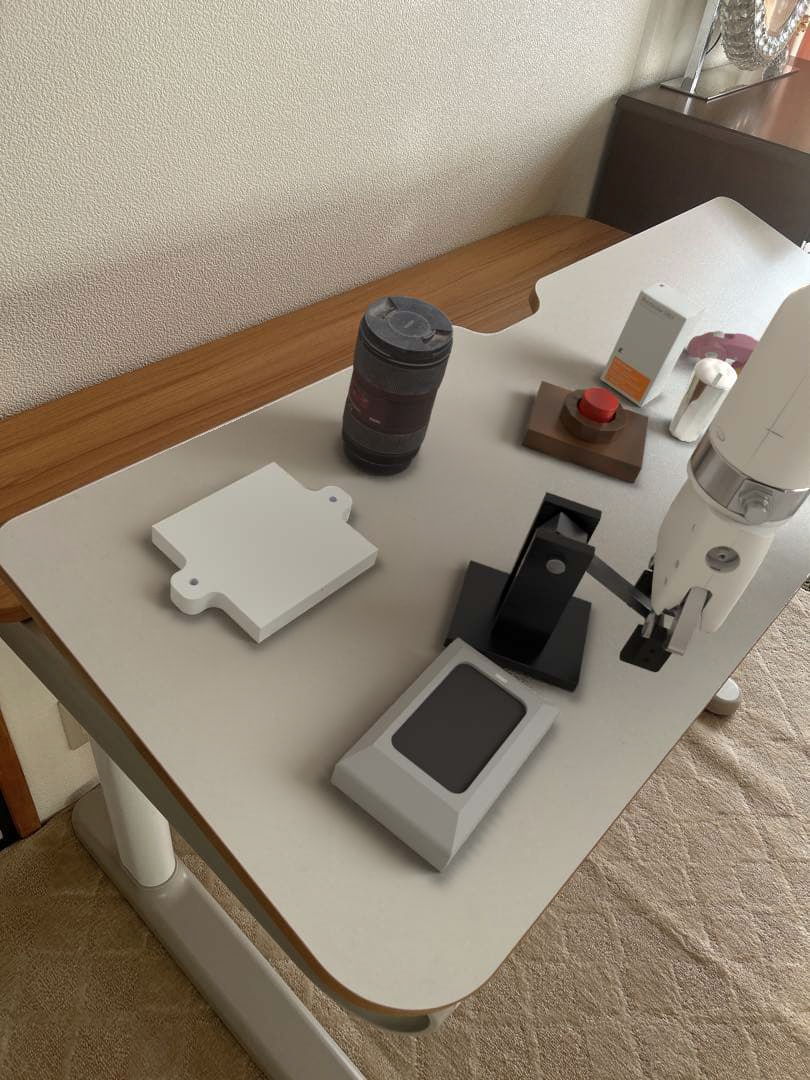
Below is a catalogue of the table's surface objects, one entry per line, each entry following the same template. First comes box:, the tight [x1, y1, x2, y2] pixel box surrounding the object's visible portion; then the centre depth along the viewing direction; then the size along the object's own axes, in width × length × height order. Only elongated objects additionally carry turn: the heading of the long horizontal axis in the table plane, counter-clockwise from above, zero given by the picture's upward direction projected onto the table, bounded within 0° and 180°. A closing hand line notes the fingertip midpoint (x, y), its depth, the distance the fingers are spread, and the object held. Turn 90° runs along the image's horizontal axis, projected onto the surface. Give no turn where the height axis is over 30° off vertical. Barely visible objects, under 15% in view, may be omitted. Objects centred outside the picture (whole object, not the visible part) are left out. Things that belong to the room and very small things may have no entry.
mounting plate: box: [151, 461, 379, 644], centre depth 73 cm, size 18×13×2 cm
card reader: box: [329, 638, 560, 874], centre depth 63 cm, size 10×4×15 cm
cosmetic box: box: [599, 280, 705, 408], centre depth 97 cm, size 6×4×12 cm
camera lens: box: [341, 295, 454, 477], centre depth 79 cm, size 8×8×15 cm
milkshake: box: [668, 358, 737, 443], centre depth 94 cm, size 4×5×10 cm
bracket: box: [442, 491, 603, 693], centre depth 69 cm, size 11×9×13 cm
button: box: [579, 386, 619, 423], centre depth 90 cm, size 4×4×2 cm
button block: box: [521, 380, 649, 484], centre depth 92 cm, size 12×9×4 cm
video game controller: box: [686, 330, 759, 377], centre depth 106 cm, size 10×5×7 cm, turn 81°
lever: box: [539, 512, 666, 627], centre depth 67 cm, size 12×5×2 cm, turn 75°
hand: (641, 634), depth 70 cm, fingers closed on lever, 5 cm apart
